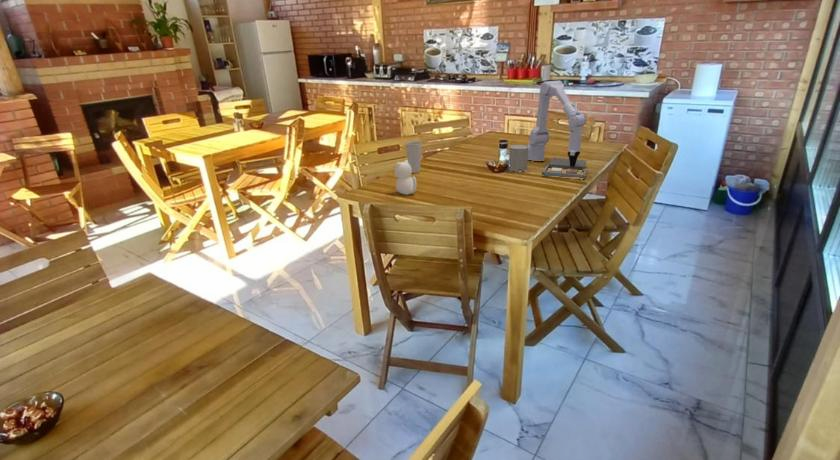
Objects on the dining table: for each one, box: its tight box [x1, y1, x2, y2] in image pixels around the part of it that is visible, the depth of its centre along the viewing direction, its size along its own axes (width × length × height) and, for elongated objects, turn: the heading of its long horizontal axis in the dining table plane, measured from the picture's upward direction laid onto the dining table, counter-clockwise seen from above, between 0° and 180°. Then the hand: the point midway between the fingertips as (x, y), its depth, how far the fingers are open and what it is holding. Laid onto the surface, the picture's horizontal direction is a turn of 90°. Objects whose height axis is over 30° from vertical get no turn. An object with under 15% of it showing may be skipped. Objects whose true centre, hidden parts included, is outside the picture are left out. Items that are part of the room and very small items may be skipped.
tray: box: [541, 164, 588, 178], centre depth 226 cm, size 20×13×2 cm, turn 66°
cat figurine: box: [394, 159, 418, 196], centre depth 205 cm, size 9×12×15 cm
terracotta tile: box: [566, 169, 578, 174], centre depth 225 cm, size 5×5×2 cm
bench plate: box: [548, 157, 587, 170], centre depth 237 cm, size 17×14×3 cm
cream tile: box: [551, 168, 563, 173], centre depth 227 cm, size 5×5×2 cm
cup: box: [405, 140, 422, 174], centre depth 236 cm, size 8×8×16 cm
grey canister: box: [508, 144, 528, 173], centre depth 234 cm, size 10×10×12 cm
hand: (572, 166), depth 227 cm, fingers closed
